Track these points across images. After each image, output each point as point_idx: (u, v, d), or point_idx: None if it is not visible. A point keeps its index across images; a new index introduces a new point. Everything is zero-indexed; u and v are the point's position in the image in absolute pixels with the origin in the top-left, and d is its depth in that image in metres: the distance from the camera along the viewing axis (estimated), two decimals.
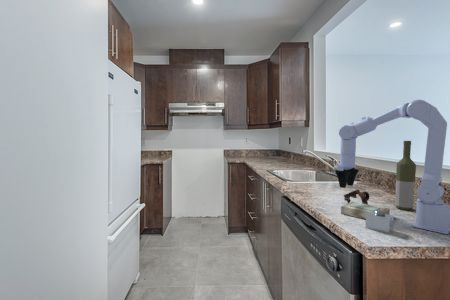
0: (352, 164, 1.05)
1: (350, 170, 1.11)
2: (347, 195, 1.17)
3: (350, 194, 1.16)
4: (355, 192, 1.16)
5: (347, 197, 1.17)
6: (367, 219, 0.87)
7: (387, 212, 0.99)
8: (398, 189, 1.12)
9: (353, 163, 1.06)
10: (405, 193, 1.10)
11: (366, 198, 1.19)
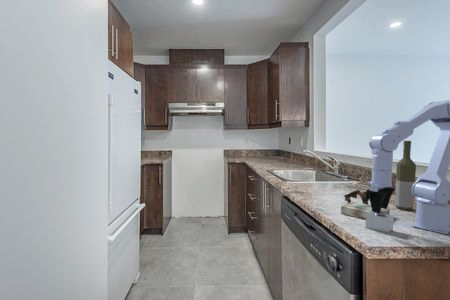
0: (388, 183, 0.83)
1: (383, 189, 0.88)
2: (348, 195, 1.17)
3: (351, 194, 1.16)
4: (356, 192, 1.16)
5: (348, 197, 1.17)
6: (367, 219, 0.87)
7: (387, 212, 0.99)
8: (398, 189, 1.12)
9: (389, 181, 0.83)
10: (405, 193, 1.10)
11: (367, 198, 1.18)
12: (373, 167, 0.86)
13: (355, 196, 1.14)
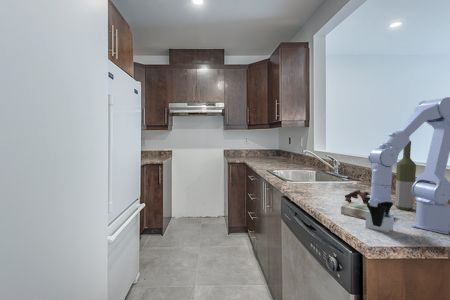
0: (388, 197, 0.83)
1: (382, 203, 0.88)
2: (348, 196, 1.16)
3: (351, 195, 1.15)
4: (356, 192, 1.15)
5: (348, 198, 1.16)
6: (367, 219, 0.87)
7: None
8: (398, 189, 1.12)
9: (389, 196, 0.83)
10: (405, 193, 1.10)
11: (367, 198, 1.18)
12: (372, 181, 0.86)
13: (356, 196, 1.14)
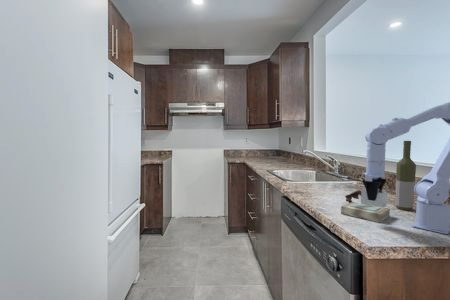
0: (382, 173, 0.89)
1: (376, 180, 0.94)
2: (349, 196, 1.16)
3: (352, 195, 1.15)
4: (357, 193, 1.14)
5: (349, 198, 1.16)
6: (362, 195, 0.93)
7: (387, 212, 0.99)
8: (398, 189, 1.12)
9: (383, 172, 0.90)
10: (405, 193, 1.10)
11: None
12: None
13: (356, 197, 1.13)
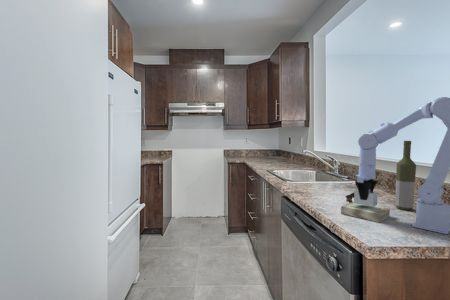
0: (372, 175, 0.99)
1: (368, 181, 1.04)
2: (349, 196, 1.15)
3: (352, 195, 1.14)
4: None
5: (349, 198, 1.15)
6: (355, 195, 1.03)
7: (387, 212, 0.99)
8: (398, 189, 1.12)
9: (373, 174, 0.99)
10: (405, 193, 1.10)
11: None
12: None
13: None
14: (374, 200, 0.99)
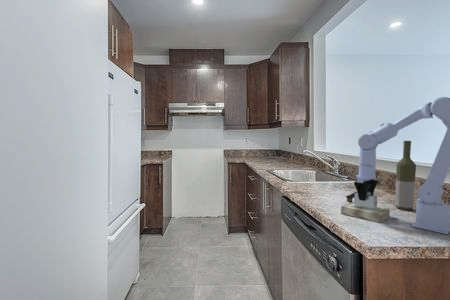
0: (372, 175, 0.99)
1: (369, 181, 1.05)
2: (350, 196, 1.15)
3: (353, 195, 1.14)
4: None
5: (350, 198, 1.15)
6: (355, 198, 1.03)
7: (387, 212, 0.99)
8: (398, 189, 1.12)
9: (373, 174, 0.99)
10: (405, 193, 1.10)
11: None
12: None
13: None
14: (374, 203, 0.99)
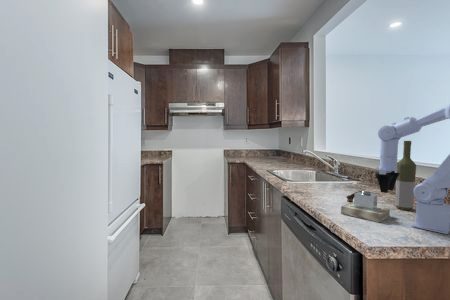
0: (394, 167, 0.98)
1: (390, 173, 1.03)
2: (350, 196, 1.14)
3: (353, 195, 1.14)
4: None
5: (350, 198, 1.14)
6: (355, 198, 1.03)
7: (387, 212, 0.99)
8: (398, 189, 1.12)
9: (395, 166, 0.98)
10: (405, 193, 1.10)
11: None
12: None
13: None
14: (374, 203, 0.99)
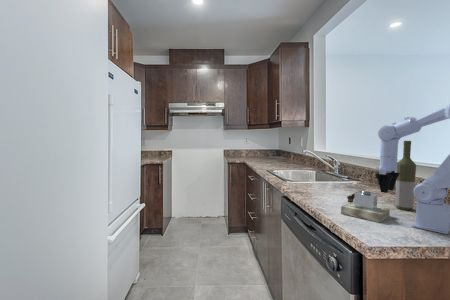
0: (394, 167, 0.98)
1: (390, 173, 1.03)
2: (351, 197, 1.14)
3: (354, 196, 1.13)
4: None
5: (351, 199, 1.14)
6: (355, 198, 1.03)
7: (387, 212, 0.99)
8: (398, 189, 1.12)
9: (395, 166, 0.98)
10: (405, 193, 1.10)
11: None
12: None
13: None
14: (374, 203, 0.99)
